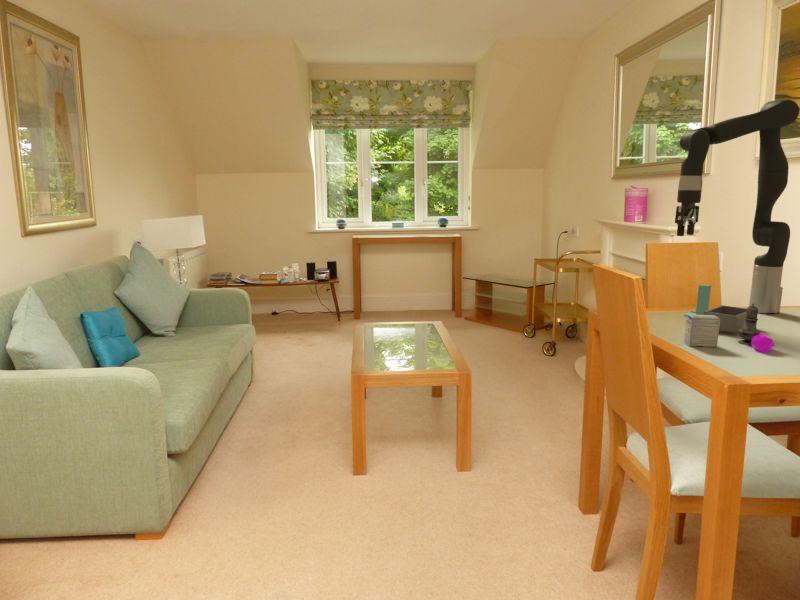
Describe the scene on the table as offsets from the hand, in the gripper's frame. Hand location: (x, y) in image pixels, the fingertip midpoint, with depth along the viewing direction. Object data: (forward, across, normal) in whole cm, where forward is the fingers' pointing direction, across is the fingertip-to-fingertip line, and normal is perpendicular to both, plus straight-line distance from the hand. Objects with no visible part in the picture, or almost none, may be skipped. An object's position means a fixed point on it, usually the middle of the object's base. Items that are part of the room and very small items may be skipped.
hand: (685, 235), depth 220 cm
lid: (+28, +5, -9) cm, 30 cm away
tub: (+28, -13, -21) cm, 38 cm away
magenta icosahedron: (+28, -35, -38) cm, 59 cm away
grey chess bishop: (+28, -28, -32) cm, 52 cm away
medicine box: (+28, -42, -24) cm, 56 cm away
